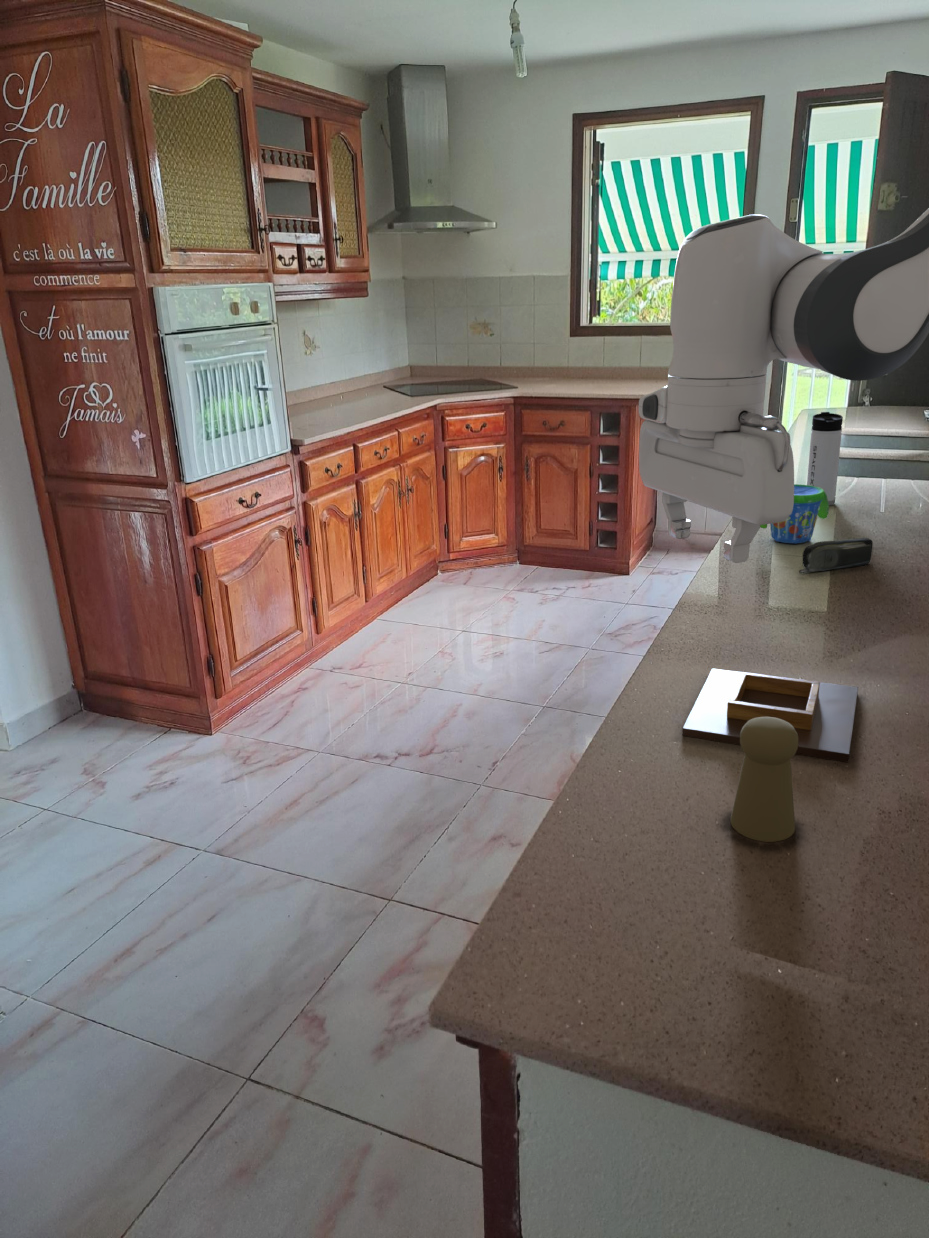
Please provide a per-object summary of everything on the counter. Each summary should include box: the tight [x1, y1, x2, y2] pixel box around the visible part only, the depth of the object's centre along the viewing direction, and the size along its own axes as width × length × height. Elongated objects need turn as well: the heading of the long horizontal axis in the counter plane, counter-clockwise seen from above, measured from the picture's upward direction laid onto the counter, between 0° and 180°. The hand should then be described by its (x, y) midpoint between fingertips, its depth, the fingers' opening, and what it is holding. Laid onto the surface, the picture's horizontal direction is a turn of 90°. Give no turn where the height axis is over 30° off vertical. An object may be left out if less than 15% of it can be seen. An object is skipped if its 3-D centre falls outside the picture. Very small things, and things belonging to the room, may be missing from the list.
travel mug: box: [806, 411, 844, 507], centre depth 197 cm, size 6×7×20 cm
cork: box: [729, 717, 798, 843], centre depth 84 cm, size 6×6×11 cm
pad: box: [681, 668, 859, 763], centre depth 106 cm, size 18×18×3 cm
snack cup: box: [760, 483, 830, 545], centre depth 173 cm, size 16×10×10 cm
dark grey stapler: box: [798, 537, 873, 575], centre depth 156 cm, size 5×3×15 cm
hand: (705, 548), depth 87 cm, fingers open, 8 cm apart
